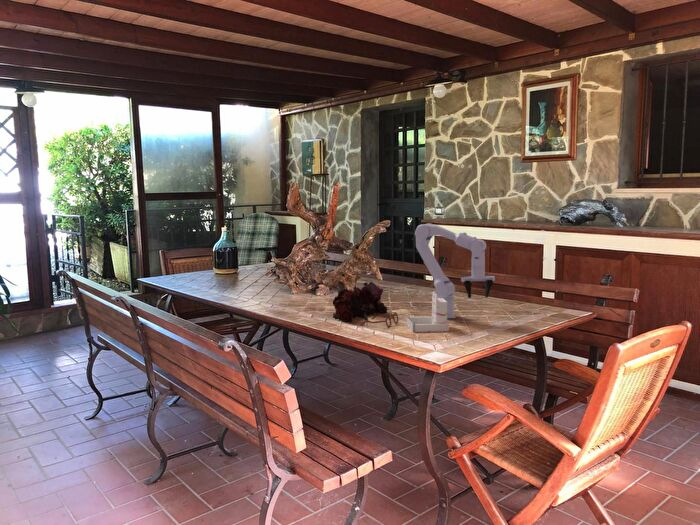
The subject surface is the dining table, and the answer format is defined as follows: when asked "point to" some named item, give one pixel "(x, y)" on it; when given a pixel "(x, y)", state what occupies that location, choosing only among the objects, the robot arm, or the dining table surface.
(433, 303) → the ink cartridge box
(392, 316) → the glasses
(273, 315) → the dining table surface
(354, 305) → the flower arrangement
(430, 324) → the sorting bay
